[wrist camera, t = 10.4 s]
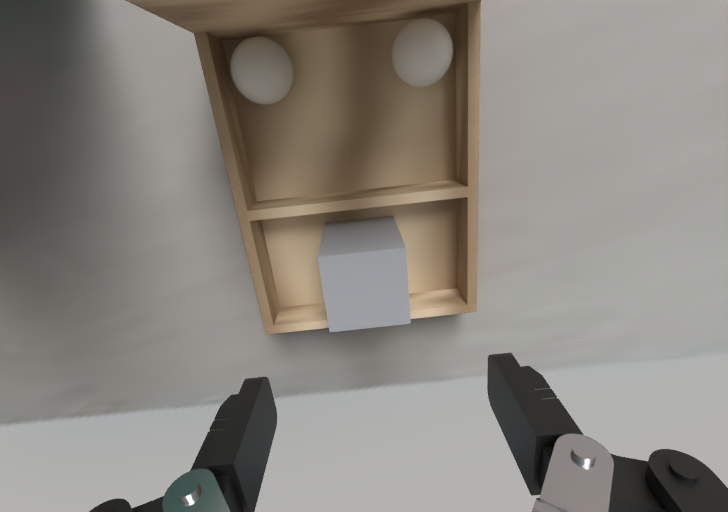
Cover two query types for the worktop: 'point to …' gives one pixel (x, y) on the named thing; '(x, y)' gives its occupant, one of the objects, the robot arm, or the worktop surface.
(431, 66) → the pebble
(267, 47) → the pebble
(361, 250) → the gray rectangular block
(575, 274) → the worktop surface
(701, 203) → the worktop surface
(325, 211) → the divided box
